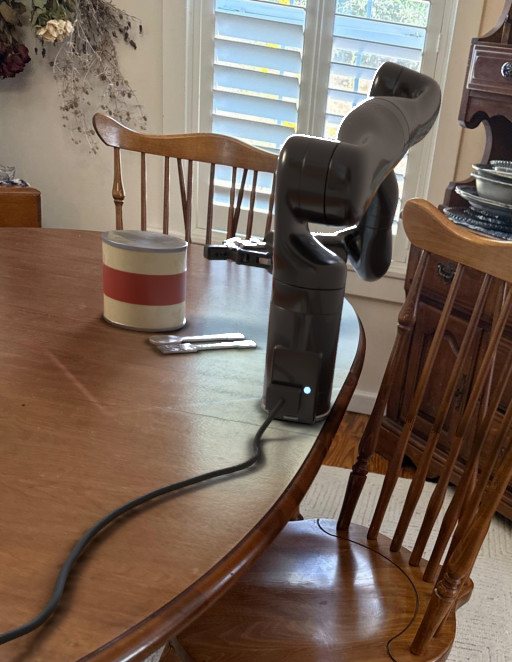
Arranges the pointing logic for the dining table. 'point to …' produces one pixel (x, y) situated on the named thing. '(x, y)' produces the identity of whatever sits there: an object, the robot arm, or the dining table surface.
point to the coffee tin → (144, 280)
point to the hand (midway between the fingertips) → (205, 252)
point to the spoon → (191, 338)
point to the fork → (203, 347)
